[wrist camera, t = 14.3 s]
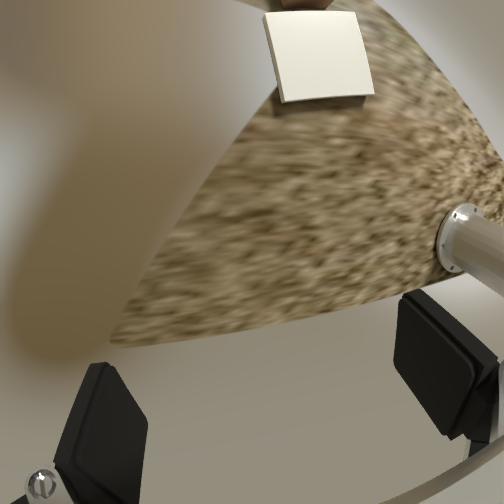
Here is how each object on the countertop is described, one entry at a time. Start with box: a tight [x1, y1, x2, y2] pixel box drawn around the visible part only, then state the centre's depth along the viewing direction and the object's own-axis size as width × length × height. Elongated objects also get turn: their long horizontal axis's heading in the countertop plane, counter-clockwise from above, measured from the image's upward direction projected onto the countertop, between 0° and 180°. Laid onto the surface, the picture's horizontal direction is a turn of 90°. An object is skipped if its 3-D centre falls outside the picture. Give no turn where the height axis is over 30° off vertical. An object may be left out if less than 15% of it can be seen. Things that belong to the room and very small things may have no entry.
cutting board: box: [263, 11, 374, 103], centre depth 31 cm, size 12×12×2 cm
